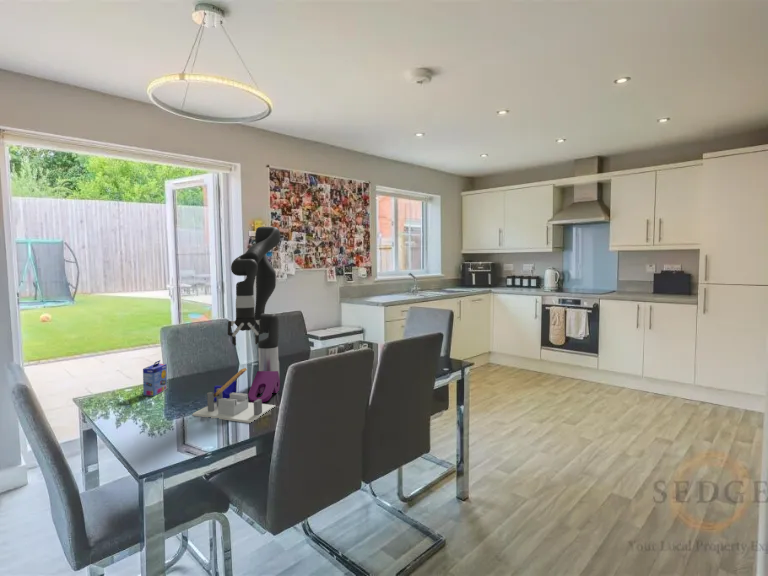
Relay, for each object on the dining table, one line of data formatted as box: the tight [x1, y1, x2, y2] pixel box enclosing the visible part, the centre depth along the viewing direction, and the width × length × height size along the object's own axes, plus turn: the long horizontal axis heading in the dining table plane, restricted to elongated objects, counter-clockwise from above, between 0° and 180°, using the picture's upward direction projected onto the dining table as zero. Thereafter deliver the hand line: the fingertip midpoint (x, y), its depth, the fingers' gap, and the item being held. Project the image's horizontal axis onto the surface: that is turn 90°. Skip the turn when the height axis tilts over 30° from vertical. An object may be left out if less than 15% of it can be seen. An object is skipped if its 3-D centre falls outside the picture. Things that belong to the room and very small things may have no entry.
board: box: [192, 388, 276, 424], centre depth 167 cm, size 17×26×8 cm, turn 73°
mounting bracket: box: [247, 370, 281, 404], centre depth 185 cm, size 9×8×18 cm
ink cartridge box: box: [142, 360, 168, 397], centre depth 190 cm, size 10×6×14 cm, turn 175°
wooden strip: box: [213, 367, 248, 398], centre depth 165 cm, size 19×3×1 cm
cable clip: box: [213, 380, 238, 402], centre depth 182 cm, size 12×4×6 cm, turn 168°
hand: (245, 344), depth 179 cm, fingers open, 8 cm apart
